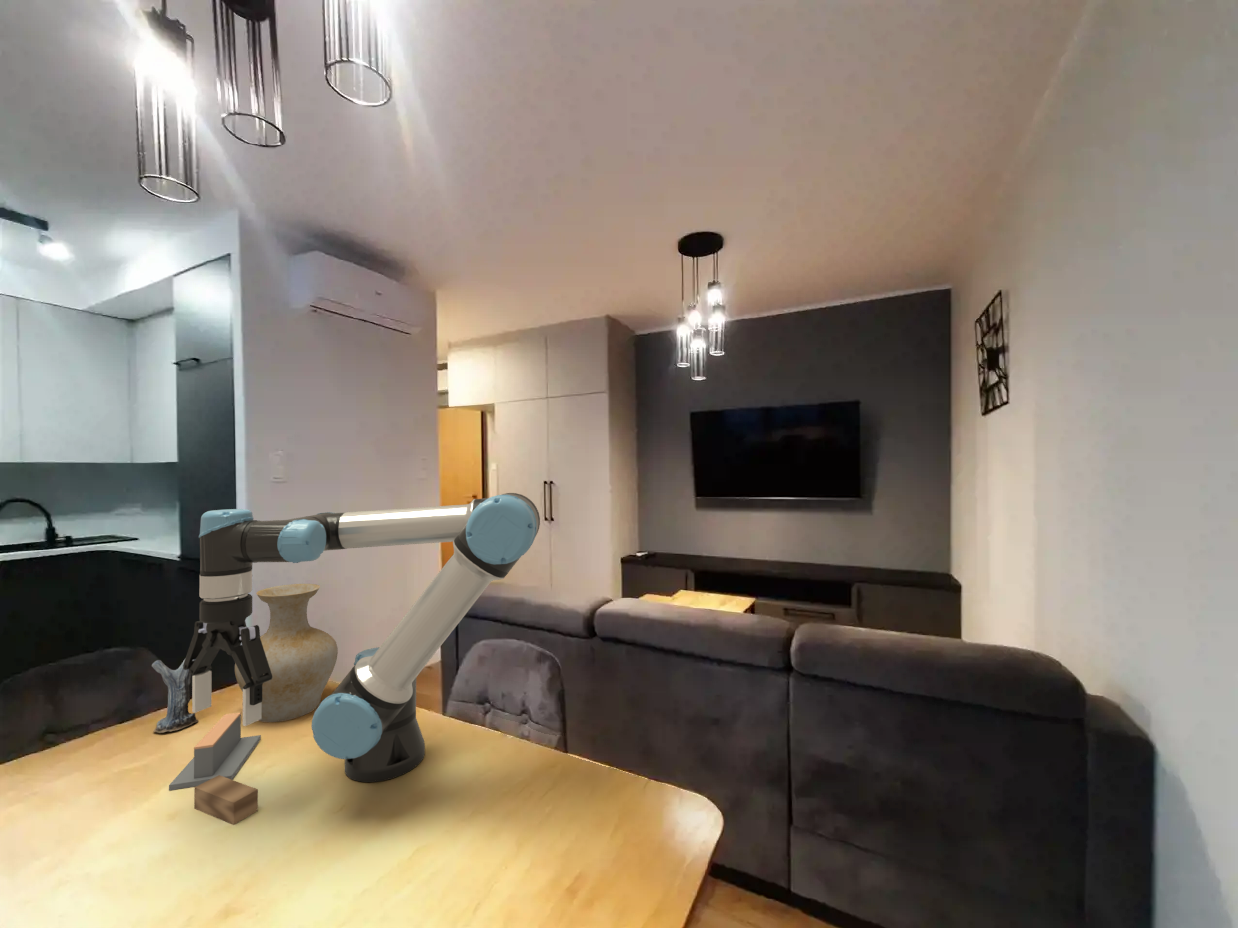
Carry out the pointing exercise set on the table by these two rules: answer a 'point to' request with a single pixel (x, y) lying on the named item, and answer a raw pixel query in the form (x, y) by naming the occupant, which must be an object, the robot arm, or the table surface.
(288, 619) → the vase
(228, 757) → the ridge block
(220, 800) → the walnut bar
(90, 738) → the table surface
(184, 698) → the antler
